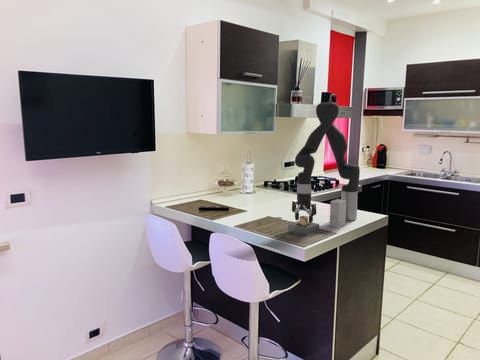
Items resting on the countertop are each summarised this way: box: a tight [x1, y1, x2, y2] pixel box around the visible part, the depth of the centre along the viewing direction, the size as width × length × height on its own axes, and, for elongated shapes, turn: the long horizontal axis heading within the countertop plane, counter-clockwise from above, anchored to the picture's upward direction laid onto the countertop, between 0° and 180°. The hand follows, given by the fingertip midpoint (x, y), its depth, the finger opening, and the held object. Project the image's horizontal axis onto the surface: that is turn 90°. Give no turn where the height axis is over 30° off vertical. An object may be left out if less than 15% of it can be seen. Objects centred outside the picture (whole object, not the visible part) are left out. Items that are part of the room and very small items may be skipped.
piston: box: [299, 215, 309, 226], centre depth 207 cm, size 4×4×8 cm
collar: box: [287, 220, 320, 237], centre depth 208 cm, size 12×12×4 cm
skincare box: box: [329, 198, 347, 229], centre depth 217 cm, size 8×6×15 cm
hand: (303, 221), depth 207 cm, fingers open, 8 cm apart
